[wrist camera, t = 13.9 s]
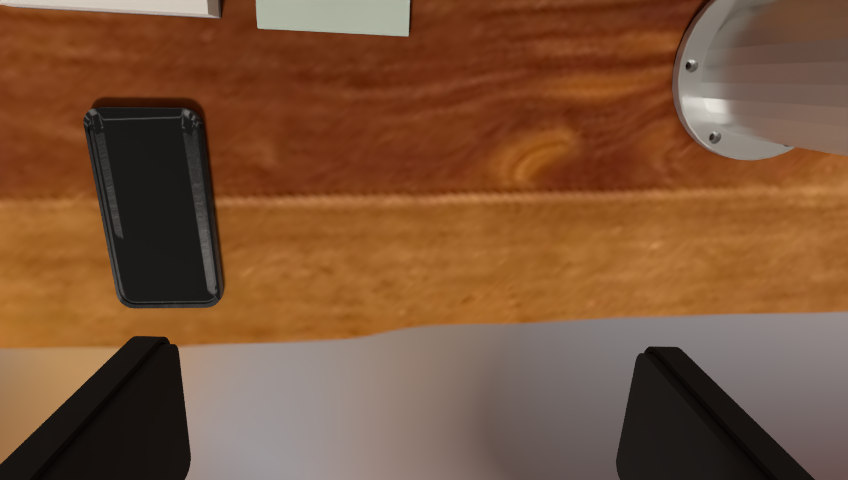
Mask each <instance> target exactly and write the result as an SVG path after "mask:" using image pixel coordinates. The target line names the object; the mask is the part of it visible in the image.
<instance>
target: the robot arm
mask: <svg viewBox="0 0 848 480" xmlns="http://www.w3.org/2000/svg"><path fill="white" fill-rule="evenodd" d="M686 63H687V64H688V67H687V69H686ZM672 90H673V98H674V105H675V108H676V110H677V113H678V116H679V119H680V121H681V123H682V124H683V126H684V128H685V129H686V131H687V133H688V134H689V135H690V136H691V137H692V138H693V139H694V140H695V141H696V142H697V143H698V144H700V145H701V146H703V147H704V148H706V149H707V150H709V151H711V152H713V153H716V154H719V155H721V156H724V157H729V158H734V159H738V160H759V159H765V158H771V157H774V156H777V155H780V154H783V153H786V152H788V151H790V150H792V149H793V148H795V147H799V148H804V149H810V150H816V151H821V152H827V153H832V154H838V155H844V156H848V0H710V1H709V2H708V3H707V4H706V5H705V6H704V8H703V9H702V10H701V11H700V12H699V13H698V15H697V16H696V17H695V18H694V20H693V21H692V23H691V25H690V26H689V28H688V30H687V31H686V33H685V35H684V37H683V39H682V42H681V44H680V47H679V49H678V51H677V55H676V60H675V64H674V68H673V82H672ZM710 135H711V137H710ZM709 137H710V138H709ZM190 461H191V453H190V445H189V436H188V428H187V419H186V410H185V401H184V393H183V384H182V376H181V368H180V358H179V351H178V347H177V346H176V345H175V344H170V342H169V340H168V339H167V338H166V337H150V336H134V337H132V338H131V339H130V340H129V341H128V342H127V343H126V344H125V345H124V346H123V347H122V348H120V349H119V350H118V351H117V352H116V353H115V354H114V355H113V356H112V357H111V358H110V359H109V360H108V361H107V362H106V363H105V364H104V365H103V366H102V367H101V368H100V369H99V370H98V371H97V372H96V373H95V374H94V375H93V376H92V377H90V378H89V379H88V380H87V381H86V382H85V383H84V384H83V385H82V386H81V387H80V388H79V389H78V390H77V391H76V392H75V393H74V394H73V395H72V396H71V397H70V398H69V399H68V400H67V401H66V402H65V403H64V404H63V405H61V406H60V407H59V408H58V409H57V410H56V411H55V412H54V413H53V414H52V415H51V416H50V417H49V418H48V419H47V420H46V421H45V422H44V423H43V424H42V425H41V426H40V427H39V428H38V429H37V430H36V431H35V432H33V434H31V435H30V436H29V437H28V438H27V439H26V440H25V441H24V442H23V443H22V444H21V445H20V446H19V447H18V448H17V449H16V450H15V451H14V452H13V453H12V454H11V455H10V456H9V457H8V458H7V459H6V460H5V461H3V463H1V464H0V480H185V478H186V476H187V474H188V471H189V467H190ZM616 466H617V472H618V476H619V478H620V480H815V479H814V478H813V477H811V475H809V473H807V472H806V471H805V470H804V469H803V468H802V467H801V466H800V465H799V464H798V463H797V462H796V461H795V460H794V459H793V458H792V457H791V456H790V455H789V454H788V453H787V452H786V451H785V450H784V449H783V448H782V447H781V446H780V445H779V444H778V443H777V442H776V441H775V440H774V439H773V438H772V437H771V436H770V435H769V434H768V433H766V432H765V431H764V430H763V429H762V428H761V427H760V426H759V425H758V424H757V423H756V422H755V421H754V420H753V419H752V418H751V417H750V416H749V415H748V414H747V413H746V412H745V411H744V410H743V409H742V408H741V407H739V405H738V404H737V403H736V402H735V401H734V400H733V399H732V398H731V397H730V396H728V395H727V394H726V393H725V392H724V391H723V390H722V389H721V388H720V387H719V386H718V385H717V384H716V383H715V382H714V381H713V380H712V379H711V378H710V377H709V376H708V375H707V374H706V373H705V372H704V371H703V370H702V369H701V368H700V367H699V366H698V365H697V364H696V363H695V362H694V361H693V360H692V359H691V358H689V357H688V356H687V355H686V354H685V353H684V352H683V351H682V350H681V349H680V348H678V347H648V348H647V349H646V350H645V352H644V353H640V354H639V355H638V356H637V359H636V362H635V368H634V373H633V378H632V383H631V388H630V393H629V398H628V403H627V408H626V414H625V418H624V423H623V429H622V433H621V438H620V443H619V448H618V453H617V459H616Z"/></svg>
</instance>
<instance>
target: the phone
mask: <svg viewBox="0 0 848 480" xmlns="http://www.w3.org/2000/svg"><path fill="white" fill-rule="evenodd" d="M84 128H85V133H86V138H87V144H88V149H89V154H90V159H91V164H92V169H93V175H94V180H95V185H96V190H97V195H98V200H99V206H100V211H101V216H102V221H103V226H104V231H105V237H106V242H107V247H108V252H109V257H110V262H111V268H112V273H113V278H114V283H115V288H116V294H117V297H118V299H119V300H120V302H121V303H122V304H124V305H125V306H127V307H129V308H207V307H212V306H214V305H216V304H217V303H218V301H219V300H220V299H221V298H222V296H223V282H222V274H221V266H220V258H219V250H218V241H217V233H216V225H215V217H214V209H213V201H212V193H211V184H210V176H209V168H208V160H207V152H206V144H205V136H204V127H203V122H202V119H201V118H200V116H199V115H198V114H197V113H196V112H195V111H193V110H191V109H189V108H154V107H101V108H93V109H91V110H89V111H88V112H87V113H86V115H85V117H84Z"/></svg>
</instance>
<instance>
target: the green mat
mask: <svg viewBox="0 0 848 480" xmlns="http://www.w3.org/2000/svg"><path fill="white" fill-rule="evenodd" d="M256 11H257V28H260V29H278V30H297V31H316V32H335V33H353V34H372V35H391V36H409V12H410V0H256Z"/></svg>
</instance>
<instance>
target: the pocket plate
mask: <svg viewBox="0 0 848 480" xmlns="http://www.w3.org/2000/svg"><path fill="white" fill-rule="evenodd" d="M0 4H2V5H7V6H13V7H18V8H37V9H56V10H74V11H93V12H111V13H130V14H148V15H167V16H186V17H204V18H221V8H220V0H0Z"/></svg>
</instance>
